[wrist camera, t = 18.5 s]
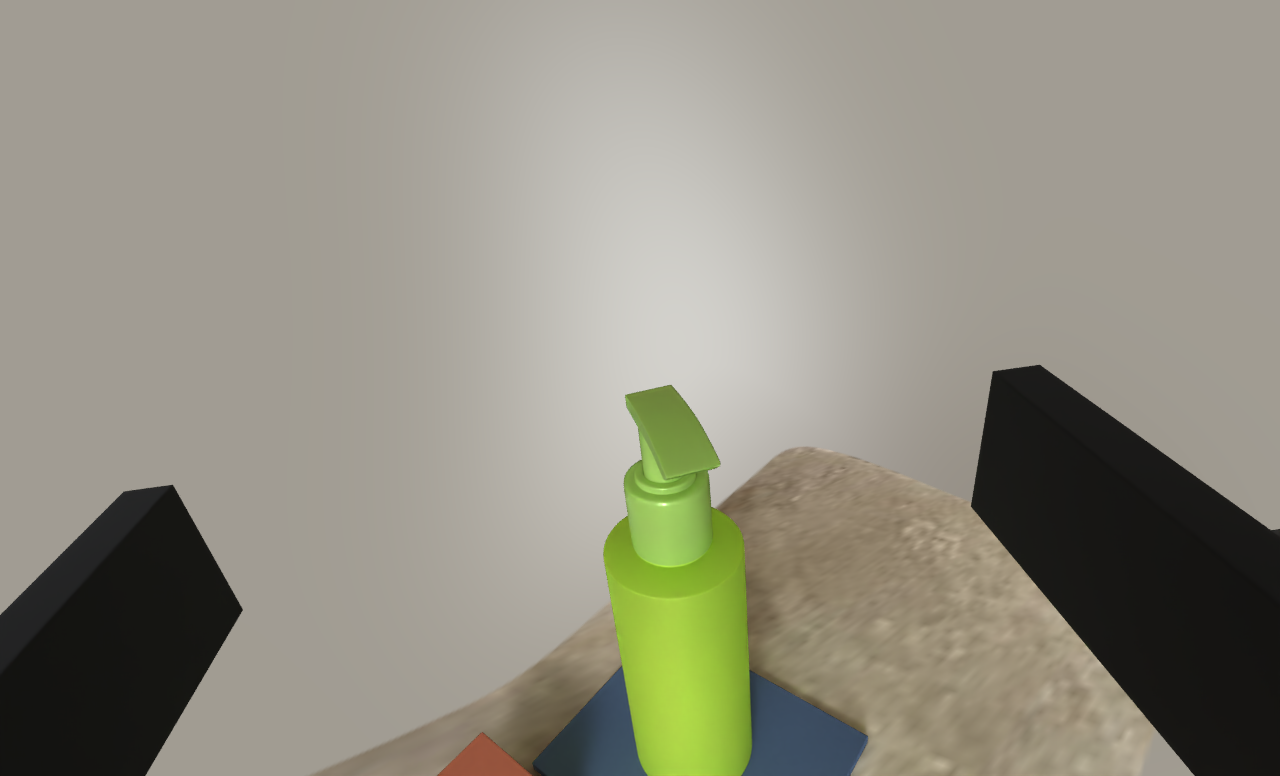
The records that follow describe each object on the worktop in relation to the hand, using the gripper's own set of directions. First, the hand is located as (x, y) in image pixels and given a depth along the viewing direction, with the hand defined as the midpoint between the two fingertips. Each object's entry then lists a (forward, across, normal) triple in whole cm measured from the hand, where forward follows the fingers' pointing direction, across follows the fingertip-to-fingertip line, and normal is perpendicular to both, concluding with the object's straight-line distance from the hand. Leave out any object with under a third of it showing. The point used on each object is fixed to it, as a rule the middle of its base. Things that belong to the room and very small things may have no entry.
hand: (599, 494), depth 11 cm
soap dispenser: (+12, +2, -26) cm, 28 cm away
